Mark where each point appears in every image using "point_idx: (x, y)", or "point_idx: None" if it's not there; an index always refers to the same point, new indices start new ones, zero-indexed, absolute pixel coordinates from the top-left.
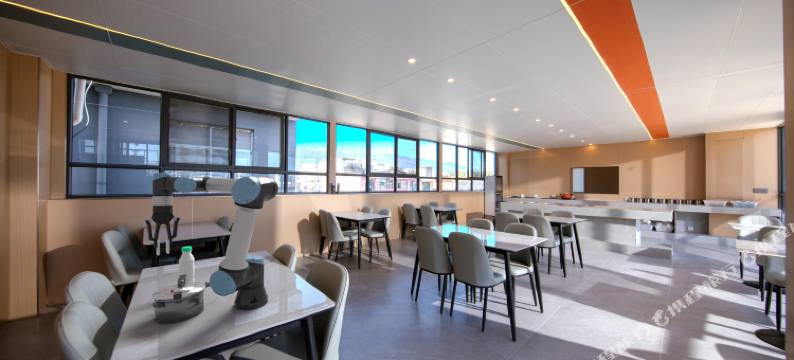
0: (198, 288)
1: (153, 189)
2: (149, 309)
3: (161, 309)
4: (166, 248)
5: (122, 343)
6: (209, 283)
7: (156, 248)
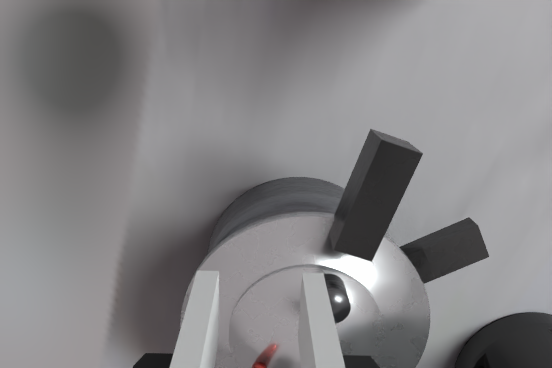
0: None
1: None
2: (216, 78)
3: None
4: (306, 332)
5: (102, 355)
6: (476, 260)
7: (183, 321)
